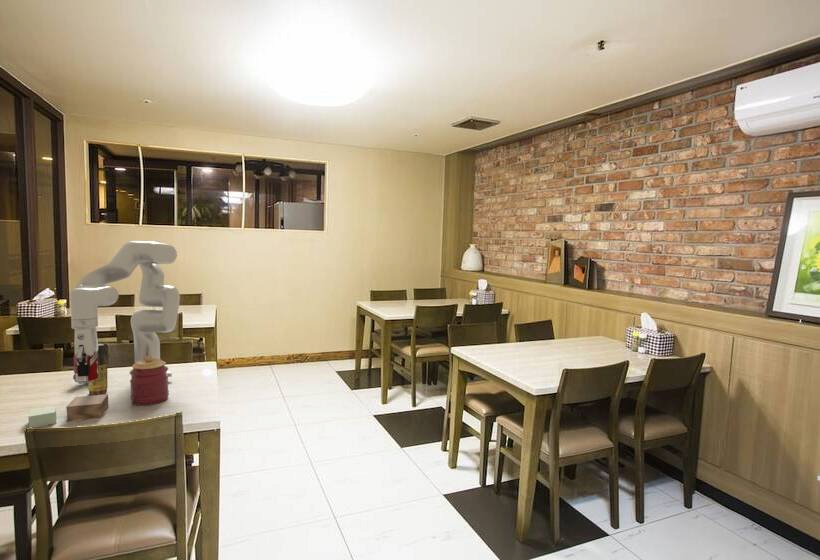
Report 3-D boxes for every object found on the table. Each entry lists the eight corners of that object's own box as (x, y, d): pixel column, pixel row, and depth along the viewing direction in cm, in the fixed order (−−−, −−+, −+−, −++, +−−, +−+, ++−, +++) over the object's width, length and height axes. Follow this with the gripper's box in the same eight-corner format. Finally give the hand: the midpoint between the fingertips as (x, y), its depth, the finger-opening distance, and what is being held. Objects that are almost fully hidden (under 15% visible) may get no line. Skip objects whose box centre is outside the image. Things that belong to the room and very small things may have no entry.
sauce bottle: (93, 397, 178) (91, 347, 177) (85, 394, 182) (83, 345, 180) (111, 392, 184) (109, 344, 182) (103, 389, 187) (102, 342, 185)
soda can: (86, 385, 157) (84, 351, 156) (69, 383, 158) (68, 349, 157) (103, 379, 164) (101, 346, 163) (87, 378, 165) (86, 345, 164)
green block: (56, 416, 159) (55, 405, 159) (56, 423, 154) (55, 412, 153) (30, 421, 155) (29, 409, 155) (29, 428, 149) (28, 416, 149)
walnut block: (108, 407, 169) (107, 394, 168) (101, 417, 160) (101, 403, 159) (76, 410, 165) (75, 396, 165) (67, 420, 156) (66, 406, 155)
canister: (128, 398, 179) (127, 354, 177) (165, 391, 186) (164, 349, 185) (132, 408, 168) (131, 361, 167) (171, 401, 176) (170, 356, 175)
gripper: (90, 327, 153) (92, 379, 154) (103, 318, 169) (105, 365, 170) (63, 328, 150) (65, 381, 151) (79, 319, 166) (81, 367, 168)
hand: (86, 372), depth 161 cm, fingers closed on soda can, 6 cm apart
